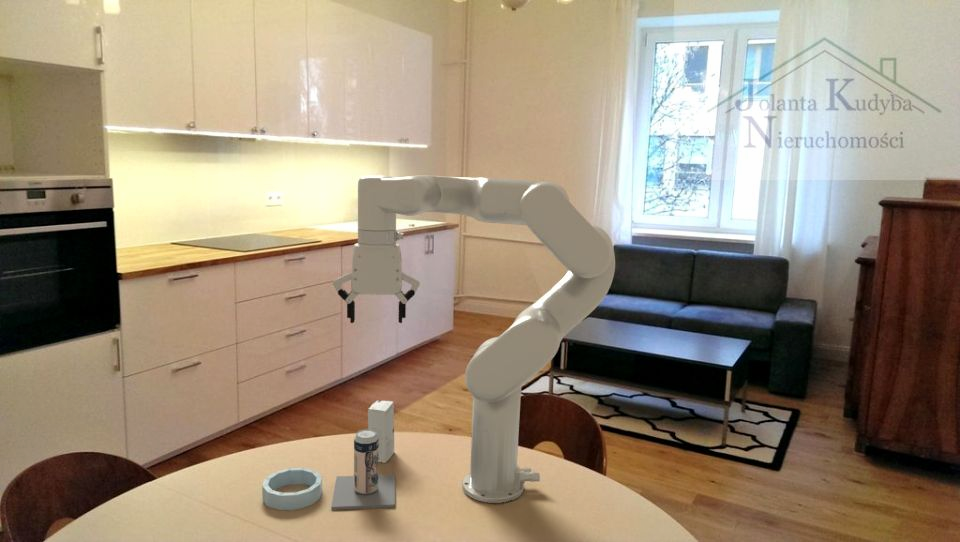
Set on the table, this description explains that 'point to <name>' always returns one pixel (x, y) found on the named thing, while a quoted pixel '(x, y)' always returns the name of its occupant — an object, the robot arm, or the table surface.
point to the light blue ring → (292, 499)
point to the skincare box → (383, 427)
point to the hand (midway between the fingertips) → (376, 321)
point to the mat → (353, 500)
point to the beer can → (366, 461)
